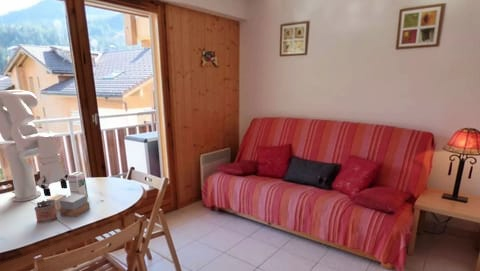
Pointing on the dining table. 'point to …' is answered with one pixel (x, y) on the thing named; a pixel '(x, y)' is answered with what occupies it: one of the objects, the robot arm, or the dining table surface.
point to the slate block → (73, 201)
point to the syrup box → (77, 183)
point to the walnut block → (75, 211)
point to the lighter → (45, 212)
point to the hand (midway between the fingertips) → (56, 191)
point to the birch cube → (57, 200)
